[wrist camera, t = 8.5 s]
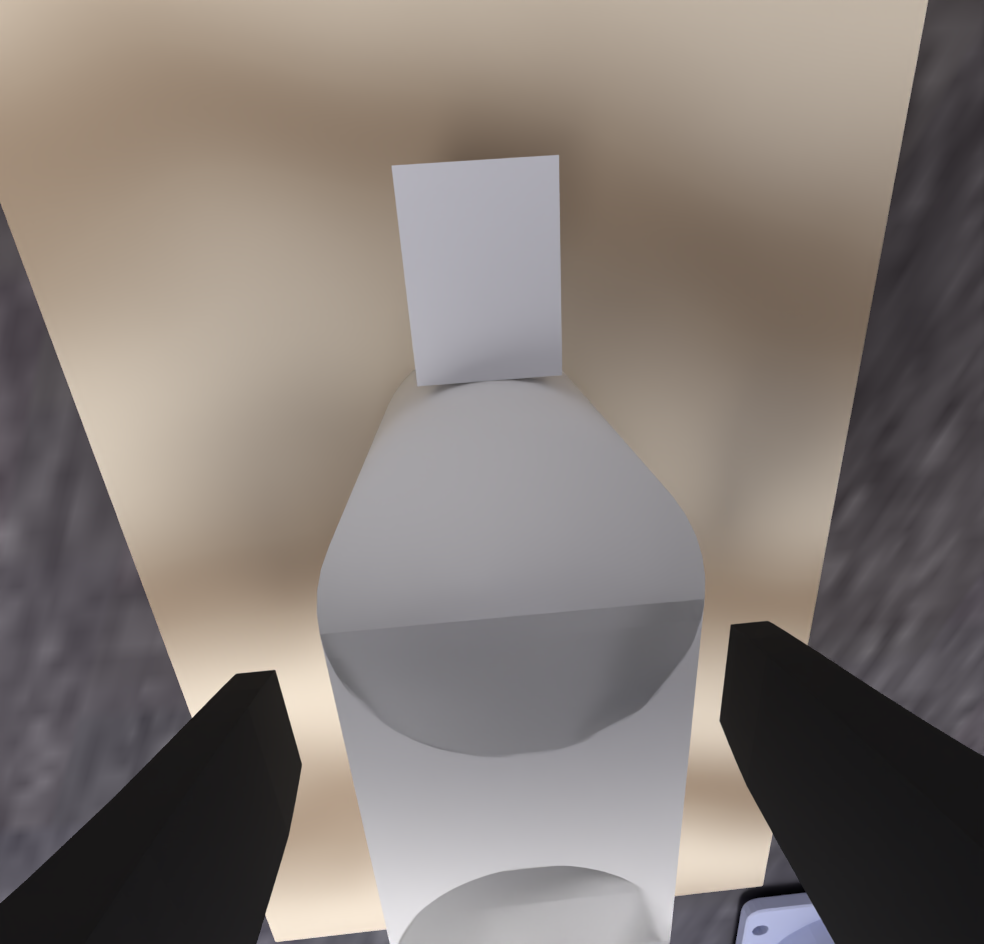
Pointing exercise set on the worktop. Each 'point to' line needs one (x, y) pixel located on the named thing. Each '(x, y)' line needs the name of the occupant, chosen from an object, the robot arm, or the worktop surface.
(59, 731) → the worktop surface
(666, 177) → the pad
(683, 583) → the plug
